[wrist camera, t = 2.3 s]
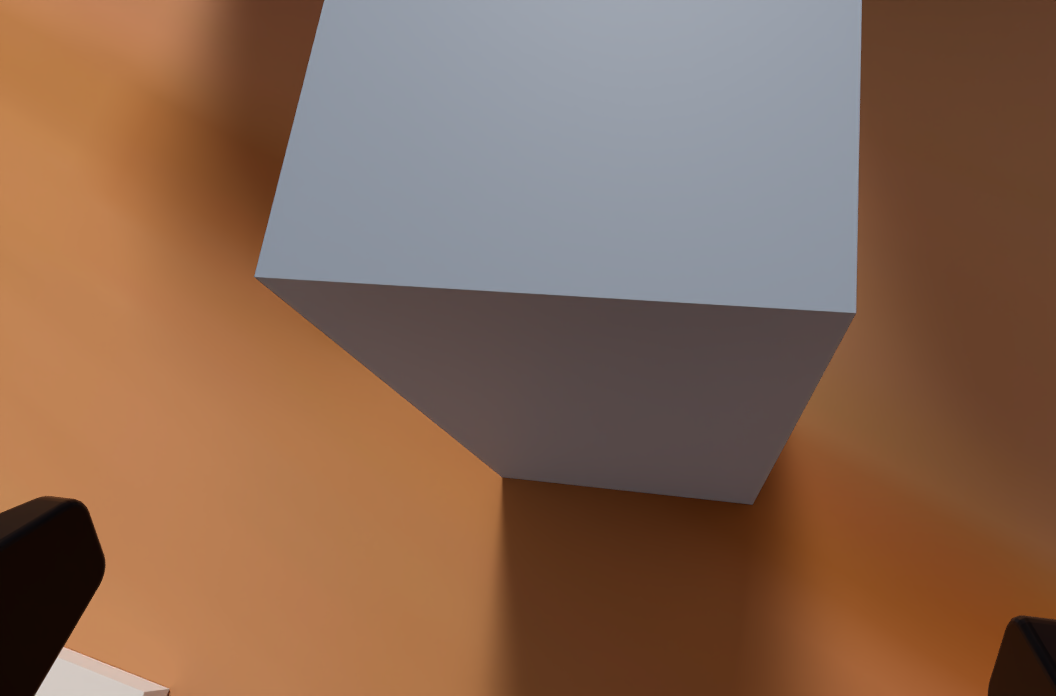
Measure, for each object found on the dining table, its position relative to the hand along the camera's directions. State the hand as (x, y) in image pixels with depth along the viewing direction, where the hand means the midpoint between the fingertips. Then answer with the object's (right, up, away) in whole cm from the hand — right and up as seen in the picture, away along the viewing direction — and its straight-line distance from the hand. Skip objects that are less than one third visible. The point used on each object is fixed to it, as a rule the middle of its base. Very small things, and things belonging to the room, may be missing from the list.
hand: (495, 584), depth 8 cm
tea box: (+3, +1, +12) cm, 13 cm away
